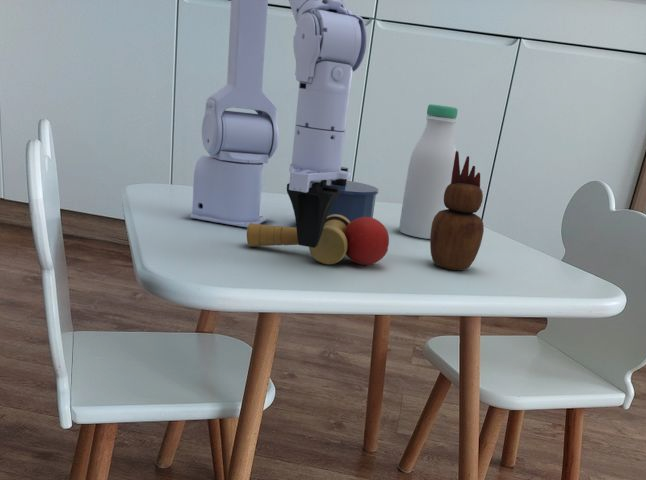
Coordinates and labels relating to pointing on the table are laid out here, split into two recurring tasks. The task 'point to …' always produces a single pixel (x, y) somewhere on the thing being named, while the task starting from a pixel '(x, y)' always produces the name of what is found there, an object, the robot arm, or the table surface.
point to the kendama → (331, 239)
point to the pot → (353, 206)
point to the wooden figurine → (458, 221)
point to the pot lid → (352, 186)
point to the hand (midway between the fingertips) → (307, 245)
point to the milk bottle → (429, 172)
